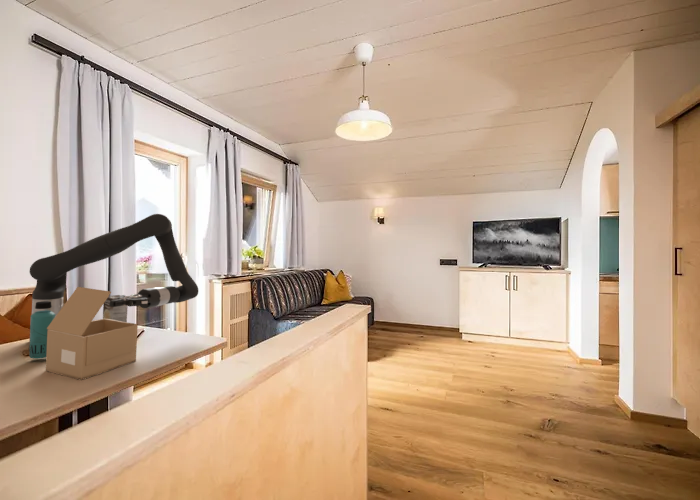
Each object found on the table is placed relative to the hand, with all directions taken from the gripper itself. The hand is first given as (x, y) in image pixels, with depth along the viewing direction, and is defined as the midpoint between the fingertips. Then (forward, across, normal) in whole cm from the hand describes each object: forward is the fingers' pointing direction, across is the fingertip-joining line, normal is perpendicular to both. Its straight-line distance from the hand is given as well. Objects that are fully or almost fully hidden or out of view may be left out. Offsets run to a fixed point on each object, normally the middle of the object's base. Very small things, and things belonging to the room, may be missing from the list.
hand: (111, 303), depth 118 cm
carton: (+5, 0, +20) cm, 21 cm away
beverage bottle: (+9, -19, +20) cm, 29 cm away
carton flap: (+10, 0, +1) cm, 10 cm away
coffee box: (-24, -29, +20) cm, 43 cm away
